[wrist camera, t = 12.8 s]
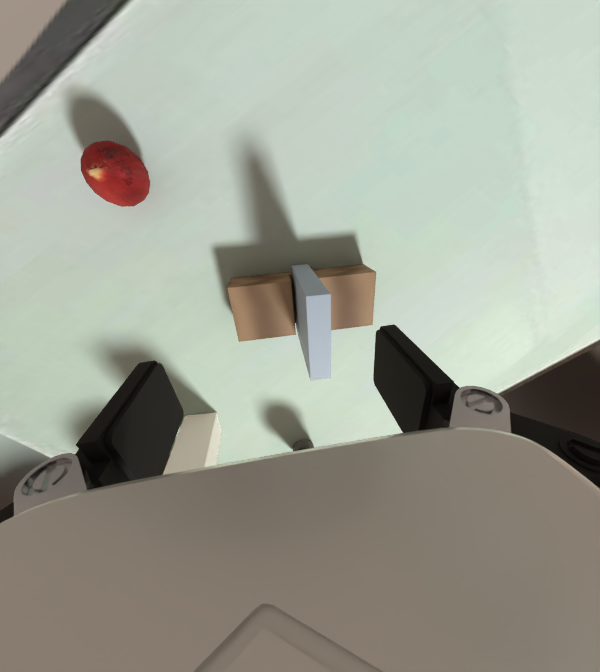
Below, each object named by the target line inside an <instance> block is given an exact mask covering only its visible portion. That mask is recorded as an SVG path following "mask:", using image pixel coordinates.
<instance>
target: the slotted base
mask: <svg viewBox="0 0 600 672" xmlns="http://www.w3.org/2000/svg"><path fill="white" fill-rule="evenodd" d="M313 271H314V273H315V274H316V275H317V277H318V278H319V279H320V281H321V282H322V283H323V284H324V286H325V287H326V288H327V290H328V291H329V292H330V294H331V330H336V329H344V328H352V327H360V326H368V325H372V324H373V310H374V295H375V281H376V272H375V271H374V270H372V269H370V268H369V267H367V266H365V265H363V264H362V265H352V266H343V267H333V268H324V269H314V270H313ZM227 289H228V294H229V298H230V303H231V307H232V312H233V317H234V321H235V326H236V330H237V335H238V340H239V342H241V341H249V340H256V339H264V338H272V337H280V336H288V335H296V332H295V323H296V318H295V305H294V292H293V279H292V272H286V273H277V274H267V275H258V276H248V277H239V278H232V279H231V281H230V283H229V285H228V288H227Z"/></svg>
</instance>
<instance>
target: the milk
mask: <svg viewBox="0 0 600 672" xmlns="http://www.w3.org/2000/svg"><path fill="white" fill-rule="evenodd" d="M221 436H222V432H221V428H220V424H219V420H218V416H217V412H215V413H206V414H196V415H187V416H185V417H184V419H183V422H182V425H181V427H180V430H179V433H178V435H177V438H176V441H175V443H174V446H173V449H172V451H171V454H170V457H169V459H168V462H167V465H166V467H165V470H164V473H163V475H165V474H170V473H176V472H181V471H187V470H192V469H198V468H203V467H209V466H214V465H216V463H217V458H218V452H219V447H220V441H221Z"/></svg>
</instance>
